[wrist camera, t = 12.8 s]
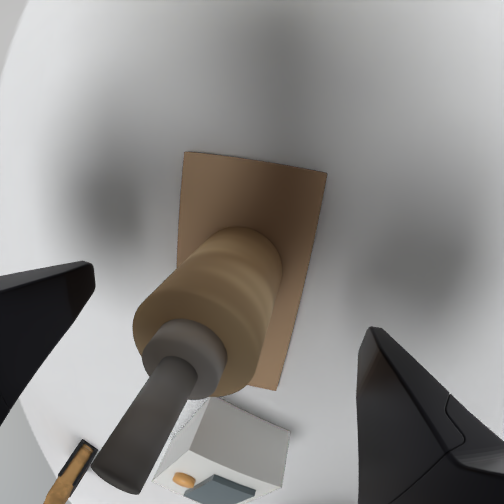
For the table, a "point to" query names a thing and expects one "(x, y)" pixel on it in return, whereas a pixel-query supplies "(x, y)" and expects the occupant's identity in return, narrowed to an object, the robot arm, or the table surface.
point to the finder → (224, 456)
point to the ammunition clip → (71, 474)
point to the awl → (194, 345)
